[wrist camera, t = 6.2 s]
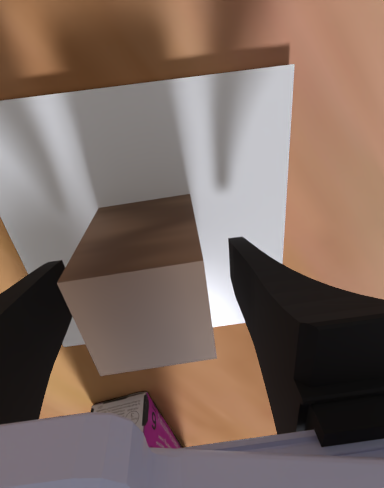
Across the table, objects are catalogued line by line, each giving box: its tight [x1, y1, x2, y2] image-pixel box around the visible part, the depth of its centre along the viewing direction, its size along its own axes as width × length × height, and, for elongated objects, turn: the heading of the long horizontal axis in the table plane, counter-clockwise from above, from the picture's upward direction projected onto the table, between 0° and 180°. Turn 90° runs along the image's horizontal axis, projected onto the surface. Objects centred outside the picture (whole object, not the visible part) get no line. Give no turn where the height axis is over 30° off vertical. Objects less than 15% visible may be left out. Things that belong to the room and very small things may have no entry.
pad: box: [0, 64, 294, 347], centre depth 15 cm, size 14×14×1 cm
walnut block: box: [57, 194, 217, 376], centre depth 12 cm, size 4×4×6 cm
